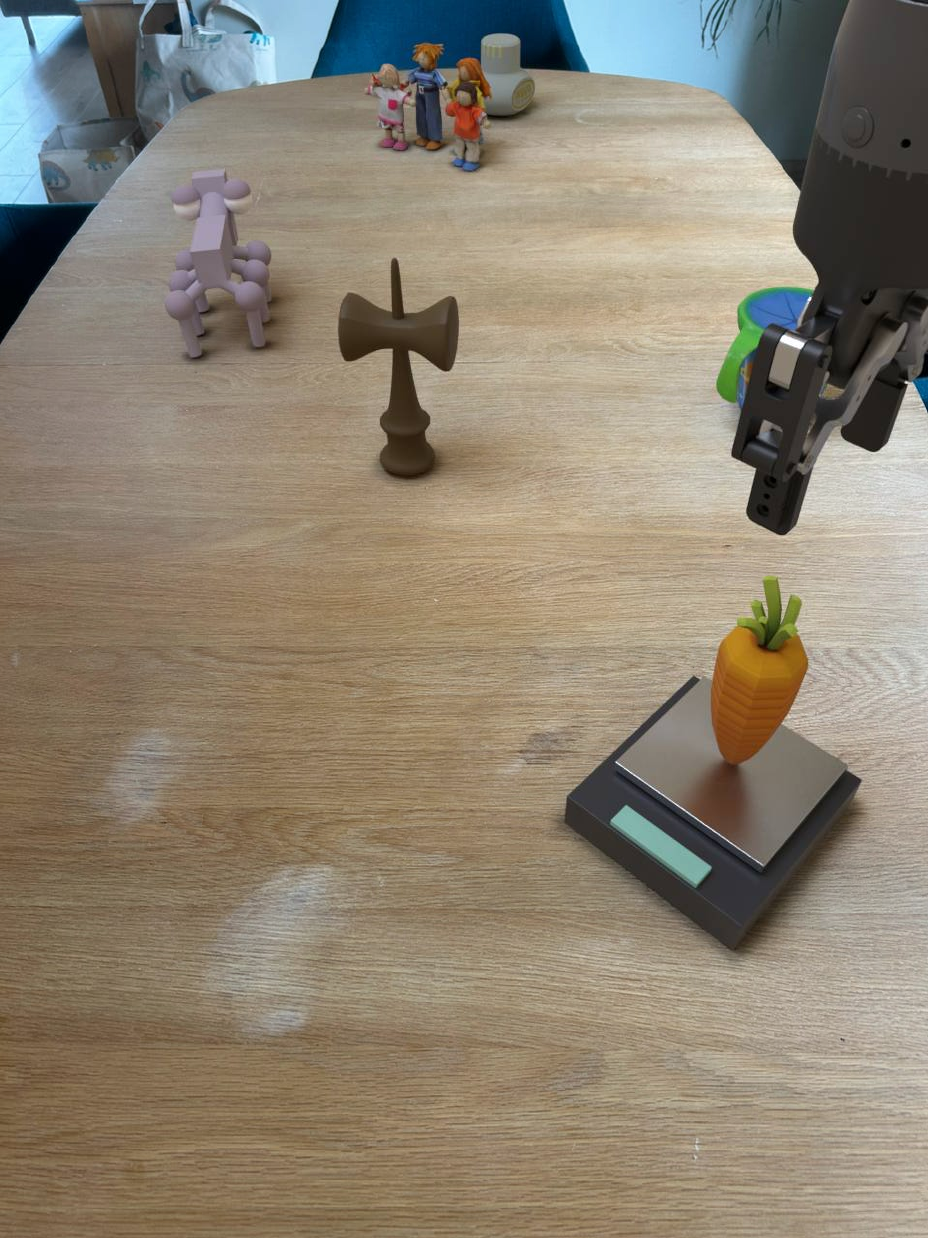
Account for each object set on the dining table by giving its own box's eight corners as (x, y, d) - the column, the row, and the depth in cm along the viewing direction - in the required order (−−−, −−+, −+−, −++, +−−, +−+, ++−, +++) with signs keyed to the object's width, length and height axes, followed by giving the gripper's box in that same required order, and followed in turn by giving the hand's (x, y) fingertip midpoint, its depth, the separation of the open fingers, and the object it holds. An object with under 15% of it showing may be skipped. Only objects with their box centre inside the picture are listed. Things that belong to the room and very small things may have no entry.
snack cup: (802, 361, 104) (826, 269, 97) (873, 413, 98) (904, 318, 90) (677, 400, 100) (693, 306, 92) (743, 457, 93) (765, 360, 86)
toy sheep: (192, 273, 120) (166, 156, 110) (282, 268, 120) (264, 151, 111) (174, 361, 106) (142, 236, 96) (275, 355, 106) (254, 231, 97)
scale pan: (702, 683, 69) (704, 675, 69) (845, 772, 64) (849, 765, 63) (613, 769, 64) (614, 761, 64) (761, 873, 59) (763, 866, 59)
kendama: (453, 487, 90) (448, 279, 76) (349, 478, 91) (325, 271, 77) (463, 448, 94) (460, 243, 80) (364, 440, 96) (343, 237, 81)
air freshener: (504, 126, 151) (505, 53, 144) (458, 115, 155) (457, 44, 147) (540, 104, 158) (543, 33, 151) (495, 94, 161) (496, 24, 154)
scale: (687, 702, 73) (694, 670, 70) (850, 805, 66) (864, 775, 64) (563, 822, 66) (566, 791, 63) (732, 951, 59) (743, 923, 57)
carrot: (765, 803, 62) (824, 637, 51) (684, 781, 63) (726, 614, 52) (776, 742, 65) (835, 574, 54) (700, 722, 66) (742, 553, 55)
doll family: (364, 143, 147) (356, 44, 138) (403, 123, 153) (398, 26, 143) (483, 175, 139) (483, 71, 129) (520, 152, 144) (523, 51, 135)
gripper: (933, 219, 31) (810, 596, 42) (1107, 95, 38) (960, 448, 49) (725, 155, 34) (664, 518, 46) (918, 53, 41) (823, 390, 53)
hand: (817, 481), depth 48 cm, fingers open, 8 cm apart
